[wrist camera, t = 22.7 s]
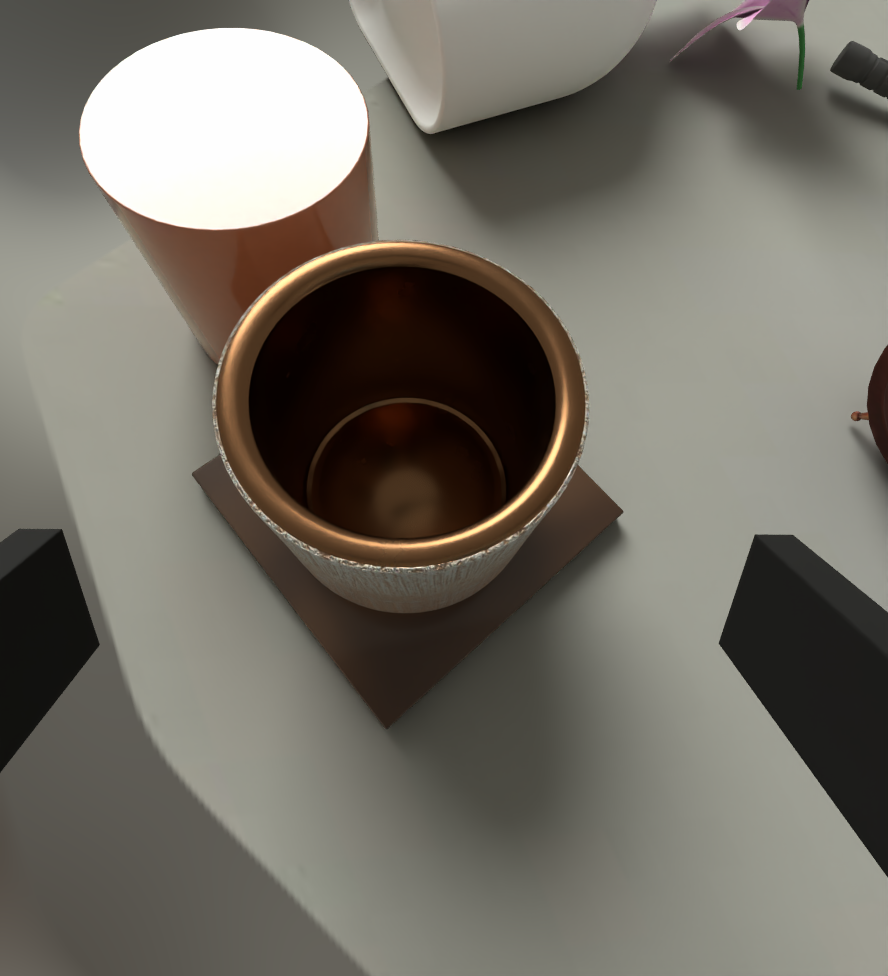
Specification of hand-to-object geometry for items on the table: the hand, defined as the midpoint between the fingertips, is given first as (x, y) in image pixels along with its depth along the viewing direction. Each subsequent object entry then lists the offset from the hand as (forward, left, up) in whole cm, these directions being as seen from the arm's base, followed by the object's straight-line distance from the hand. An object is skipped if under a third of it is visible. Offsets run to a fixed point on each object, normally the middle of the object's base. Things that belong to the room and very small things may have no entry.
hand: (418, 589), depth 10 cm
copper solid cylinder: (+17, -6, -13) cm, 23 cm away
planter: (+5, -4, -12) cm, 14 cm away
